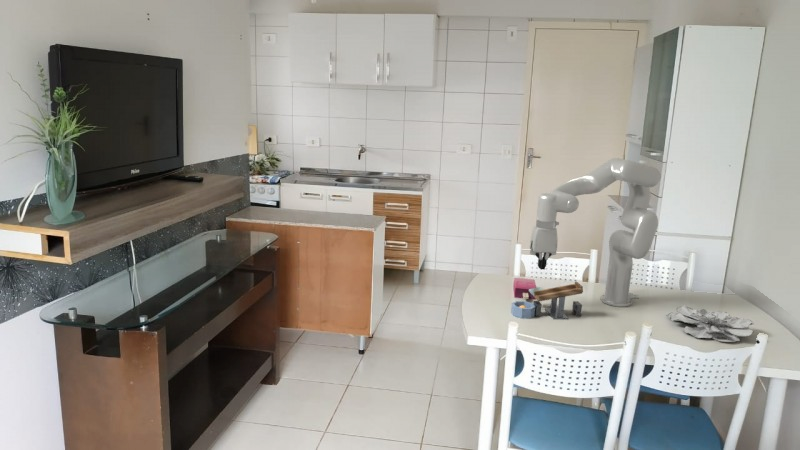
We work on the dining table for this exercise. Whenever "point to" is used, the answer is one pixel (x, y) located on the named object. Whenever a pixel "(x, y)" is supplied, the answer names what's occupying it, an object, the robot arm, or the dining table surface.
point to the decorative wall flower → (712, 324)
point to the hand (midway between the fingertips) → (541, 268)
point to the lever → (556, 291)
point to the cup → (523, 309)
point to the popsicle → (523, 288)
